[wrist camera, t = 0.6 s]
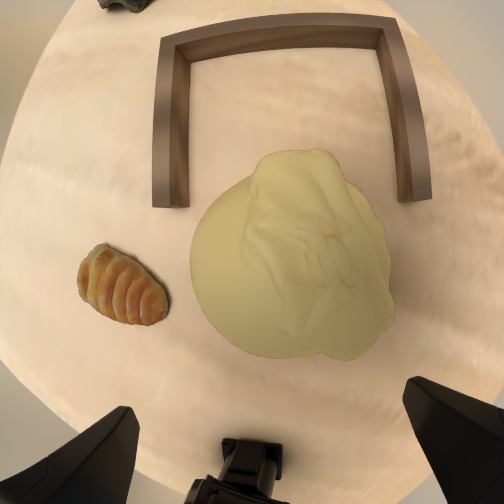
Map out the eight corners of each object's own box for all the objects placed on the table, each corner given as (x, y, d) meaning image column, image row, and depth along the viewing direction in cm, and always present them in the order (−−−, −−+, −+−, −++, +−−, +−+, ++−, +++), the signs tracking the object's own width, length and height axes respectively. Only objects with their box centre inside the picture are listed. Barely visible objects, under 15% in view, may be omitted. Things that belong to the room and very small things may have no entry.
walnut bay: (414, 201, 20) (432, 199, 16) (173, 208, 24) (152, 207, 20) (387, 38, 18) (395, 18, 15) (177, 54, 22) (161, 37, 19)
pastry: (180, 273, 25) (158, 282, 21) (165, 337, 26) (145, 353, 22) (102, 239, 26) (76, 243, 22) (93, 299, 27) (70, 308, 23)
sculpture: (388, 289, 21) (442, 343, 10) (254, 342, 24) (216, 420, 13) (333, 155, 21) (351, 102, 10) (198, 218, 23) (118, 220, 13)
